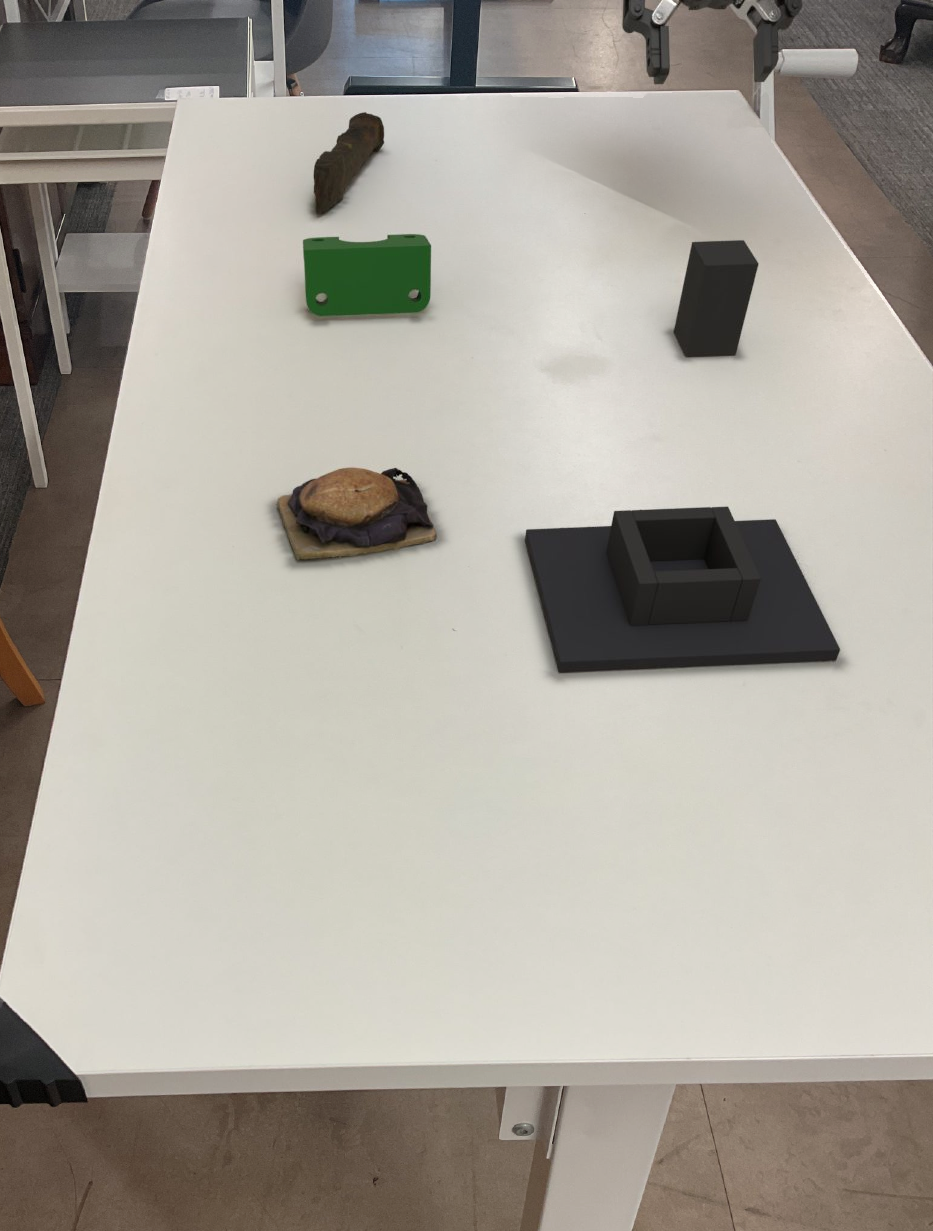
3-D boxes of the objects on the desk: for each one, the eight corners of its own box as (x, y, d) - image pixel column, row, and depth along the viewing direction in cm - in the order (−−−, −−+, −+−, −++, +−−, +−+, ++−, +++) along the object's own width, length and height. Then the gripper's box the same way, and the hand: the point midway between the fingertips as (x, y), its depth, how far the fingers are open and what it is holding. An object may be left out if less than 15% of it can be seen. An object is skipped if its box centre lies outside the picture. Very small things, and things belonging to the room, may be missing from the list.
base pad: (772, 530, 86) (789, 476, 82) (836, 660, 76) (858, 606, 73) (524, 540, 85) (531, 486, 82) (558, 673, 76) (567, 619, 72)
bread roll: (296, 569, 83) (294, 525, 81) (274, 500, 89) (271, 457, 86) (442, 546, 85) (444, 502, 82) (411, 479, 90) (412, 437, 87)
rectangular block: (722, 330, 105) (743, 239, 99) (735, 355, 102) (759, 263, 96) (673, 332, 105) (692, 241, 99) (685, 357, 102) (705, 265, 96)
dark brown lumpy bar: (351, 147, 134) (350, 102, 131) (385, 151, 133) (385, 105, 130) (292, 215, 122) (289, 168, 119) (329, 220, 121) (327, 172, 118)
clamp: (402, 336, 114) (441, 240, 109) (408, 352, 109) (449, 253, 104) (284, 288, 111) (319, 188, 106) (285, 302, 106) (322, 198, 101)
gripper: (634, -157, 94) (640, 55, 94) (812, -160, 94) (816, 51, 95) (610, -92, 101) (616, 104, 102) (775, -96, 102) (779, 99, 102)
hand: (712, 78), depth 98 cm, fingers open, 8 cm apart
